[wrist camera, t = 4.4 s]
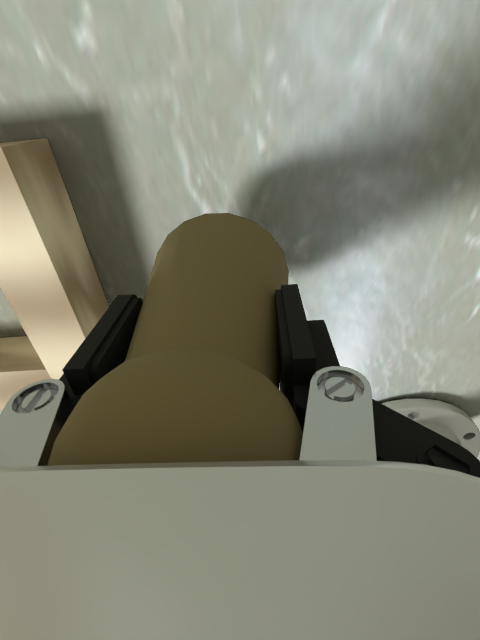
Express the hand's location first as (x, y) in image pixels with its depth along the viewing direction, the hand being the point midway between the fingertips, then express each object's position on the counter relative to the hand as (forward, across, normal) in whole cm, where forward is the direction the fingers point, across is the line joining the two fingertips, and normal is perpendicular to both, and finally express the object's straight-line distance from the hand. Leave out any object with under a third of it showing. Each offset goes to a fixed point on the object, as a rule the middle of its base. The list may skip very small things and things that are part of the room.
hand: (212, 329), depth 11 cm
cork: (+4, 0, 0) cm, 4 cm away
